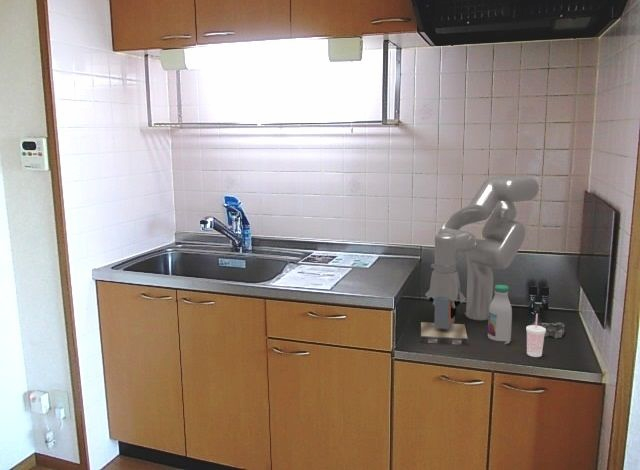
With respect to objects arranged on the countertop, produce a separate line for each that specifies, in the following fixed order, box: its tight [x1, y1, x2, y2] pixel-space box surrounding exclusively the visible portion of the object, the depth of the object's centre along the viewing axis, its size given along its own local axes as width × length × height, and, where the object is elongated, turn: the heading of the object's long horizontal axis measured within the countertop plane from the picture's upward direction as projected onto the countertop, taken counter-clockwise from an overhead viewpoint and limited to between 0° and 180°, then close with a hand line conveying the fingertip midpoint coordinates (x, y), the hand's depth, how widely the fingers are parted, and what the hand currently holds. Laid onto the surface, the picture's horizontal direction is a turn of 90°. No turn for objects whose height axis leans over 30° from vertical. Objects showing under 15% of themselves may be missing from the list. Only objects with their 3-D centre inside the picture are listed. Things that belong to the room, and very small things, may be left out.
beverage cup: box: [525, 313, 546, 358], centre depth 183 cm, size 6×6×14 cm
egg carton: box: [531, 321, 566, 339], centre depth 202 cm, size 11×8×4 cm
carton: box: [433, 297, 456, 329], centre depth 203 cm, size 8×5×11 cm, turn 150°
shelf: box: [420, 321, 470, 346], centre depth 200 cm, size 16×20×4 cm
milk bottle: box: [487, 284, 513, 345], centre depth 194 cm, size 8×8×20 cm
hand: (444, 315), depth 203 cm, fingers closed on carton, 5 cm apart
